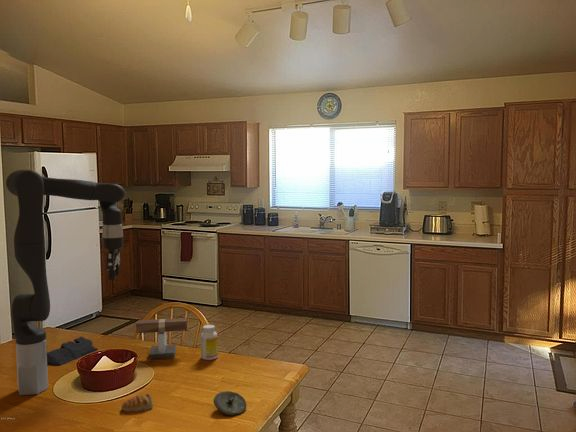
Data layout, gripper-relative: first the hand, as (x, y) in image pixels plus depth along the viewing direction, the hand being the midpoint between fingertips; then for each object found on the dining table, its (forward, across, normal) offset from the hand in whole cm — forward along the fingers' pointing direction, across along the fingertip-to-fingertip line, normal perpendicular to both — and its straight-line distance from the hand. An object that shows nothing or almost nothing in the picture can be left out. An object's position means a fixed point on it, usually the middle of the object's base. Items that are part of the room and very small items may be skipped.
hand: (114, 277), depth 189 cm
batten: (+24, +7, -17) cm, 30 cm away
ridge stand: (+34, +7, -17) cm, 39 cm away
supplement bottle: (+34, 0, -36) cm, 50 cm away
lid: (+34, -46, -42) cm, 71 cm away
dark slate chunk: (+35, +13, +22) cm, 43 cm away
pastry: (+35, -40, -14) cm, 54 cm away
